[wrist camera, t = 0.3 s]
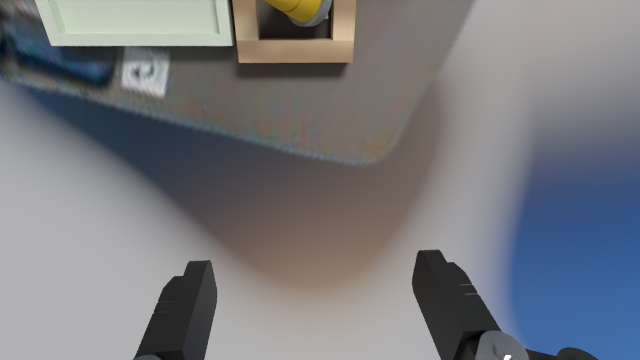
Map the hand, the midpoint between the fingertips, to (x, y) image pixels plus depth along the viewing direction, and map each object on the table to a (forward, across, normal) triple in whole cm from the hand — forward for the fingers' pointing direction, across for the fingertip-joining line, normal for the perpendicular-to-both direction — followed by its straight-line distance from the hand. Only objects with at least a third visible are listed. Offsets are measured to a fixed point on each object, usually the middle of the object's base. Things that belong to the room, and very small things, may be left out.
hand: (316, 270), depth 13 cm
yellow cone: (+27, 0, -9) cm, 28 cm away
